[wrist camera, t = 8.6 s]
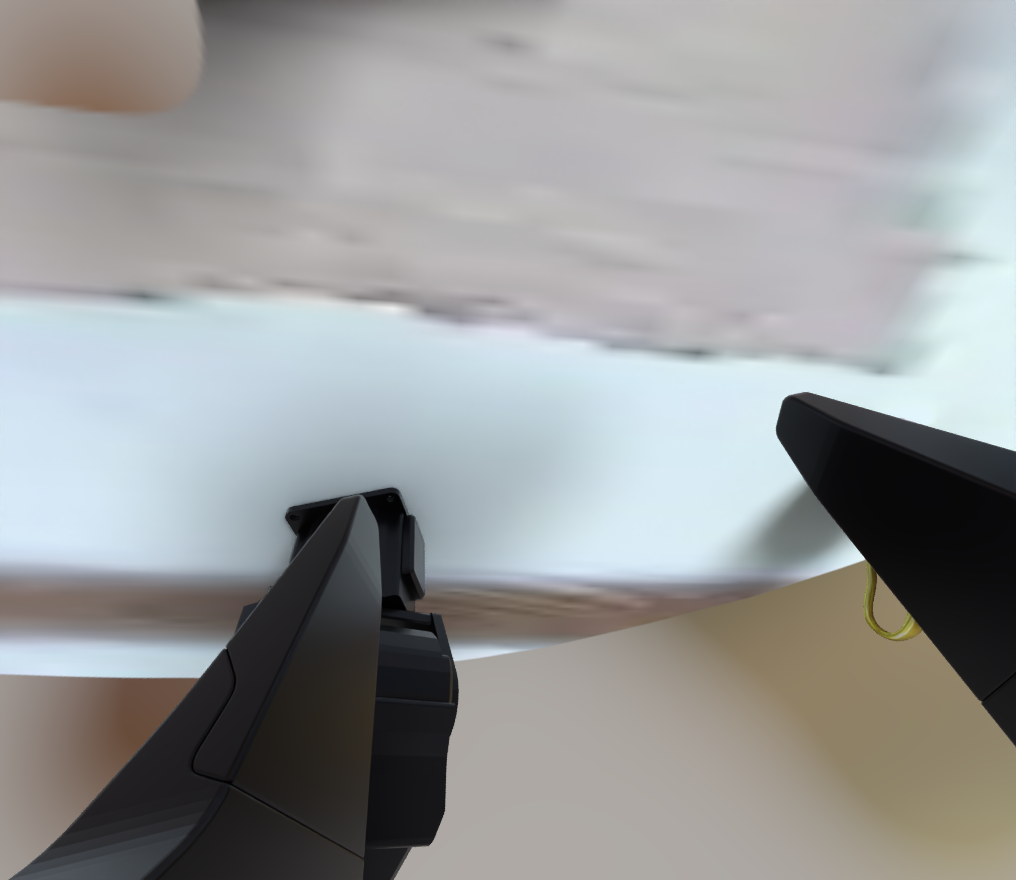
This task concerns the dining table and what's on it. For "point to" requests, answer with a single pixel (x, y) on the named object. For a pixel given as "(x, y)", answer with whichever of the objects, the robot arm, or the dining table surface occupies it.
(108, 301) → the dining table surface
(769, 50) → the dining table surface
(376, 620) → the robot arm
